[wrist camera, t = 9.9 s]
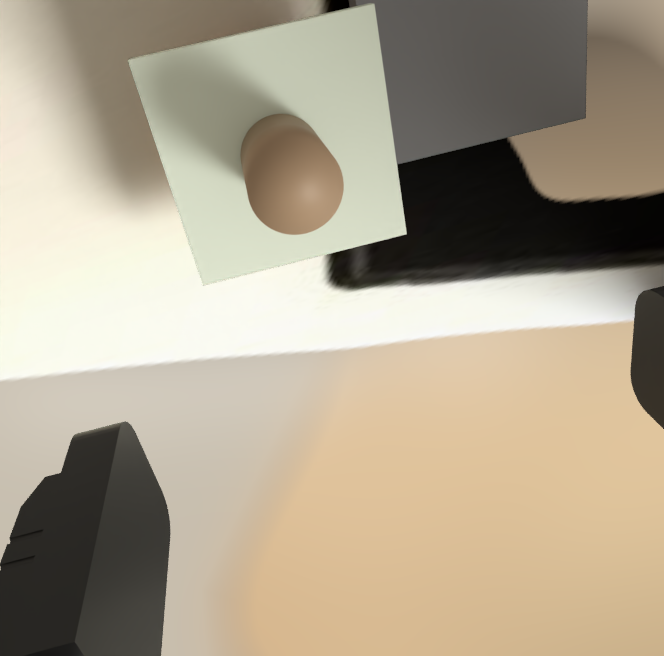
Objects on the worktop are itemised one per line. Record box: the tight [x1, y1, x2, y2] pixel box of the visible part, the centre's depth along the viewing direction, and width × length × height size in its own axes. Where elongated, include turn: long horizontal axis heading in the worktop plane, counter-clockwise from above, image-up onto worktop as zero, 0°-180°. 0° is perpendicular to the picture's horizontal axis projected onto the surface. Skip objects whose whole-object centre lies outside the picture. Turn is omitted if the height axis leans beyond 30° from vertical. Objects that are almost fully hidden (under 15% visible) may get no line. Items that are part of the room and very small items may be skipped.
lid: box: [128, 3, 407, 286], centre depth 23 cm, size 9×9×5 cm
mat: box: [349, 0, 588, 164], centre depth 27 cm, size 10×10×2 cm
